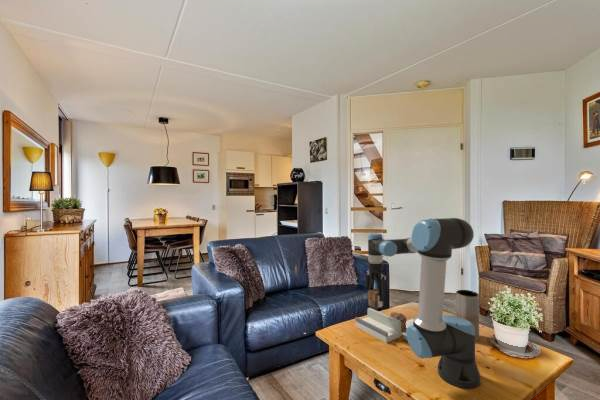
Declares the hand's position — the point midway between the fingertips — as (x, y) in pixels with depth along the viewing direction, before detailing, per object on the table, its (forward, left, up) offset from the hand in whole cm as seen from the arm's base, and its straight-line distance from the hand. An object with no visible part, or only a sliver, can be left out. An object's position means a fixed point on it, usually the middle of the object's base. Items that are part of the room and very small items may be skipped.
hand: (375, 305), depth 154 cm
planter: (-30, -35, -15) cm, 48 cm away
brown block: (0, 0, 0) cm, 0 cm away
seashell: (-2, -14, -15) cm, 21 cm away
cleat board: (0, -1, -14) cm, 14 cm away
